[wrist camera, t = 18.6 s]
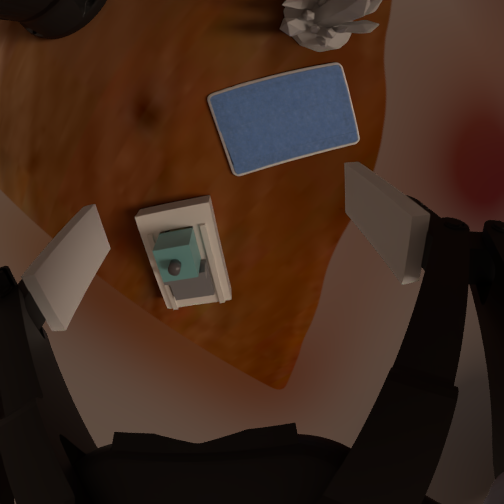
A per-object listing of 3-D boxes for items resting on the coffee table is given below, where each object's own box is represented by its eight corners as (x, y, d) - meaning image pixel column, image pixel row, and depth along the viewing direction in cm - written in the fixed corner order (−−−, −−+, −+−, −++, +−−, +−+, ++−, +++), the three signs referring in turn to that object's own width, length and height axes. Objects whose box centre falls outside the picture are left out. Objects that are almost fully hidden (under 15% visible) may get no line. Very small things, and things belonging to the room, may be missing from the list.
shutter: (165, 266, 46) (161, 278, 43) (206, 259, 46) (204, 272, 43) (176, 296, 49) (173, 310, 46) (214, 290, 49) (214, 304, 46)
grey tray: (139, 209, 44) (133, 218, 41) (210, 195, 44) (208, 203, 41) (170, 297, 53) (167, 310, 50) (231, 288, 52) (231, 301, 49)
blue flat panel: (233, 176, 43) (233, 179, 42) (205, 95, 37) (204, 95, 36) (358, 141, 42) (361, 143, 41) (338, 61, 36) (341, 60, 34)
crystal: (256, 6, 31) (270, -32, 18) (340, -17, 29) (387, -52, 16) (288, 66, 35) (319, 54, 22) (369, 40, 33) (427, 27, 20)
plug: (163, 224, 45) (149, 257, 37) (194, 218, 45) (187, 250, 37) (171, 253, 48) (161, 288, 39) (202, 247, 48) (197, 283, 39)
